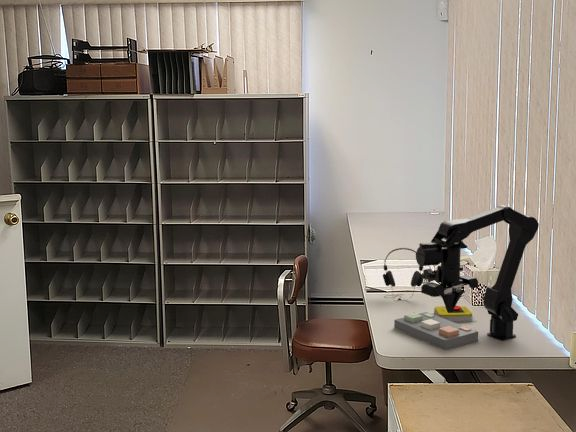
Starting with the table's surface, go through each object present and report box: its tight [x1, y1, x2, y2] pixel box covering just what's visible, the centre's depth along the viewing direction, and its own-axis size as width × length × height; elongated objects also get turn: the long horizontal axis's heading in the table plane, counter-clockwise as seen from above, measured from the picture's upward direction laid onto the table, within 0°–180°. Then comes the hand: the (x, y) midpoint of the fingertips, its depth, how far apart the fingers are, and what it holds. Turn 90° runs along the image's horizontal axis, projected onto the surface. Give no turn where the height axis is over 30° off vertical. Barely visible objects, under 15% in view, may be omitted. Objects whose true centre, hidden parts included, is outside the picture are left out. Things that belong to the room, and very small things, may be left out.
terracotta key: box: [439, 326, 459, 337], centre depth 204 cm, size 4×4×2 cm
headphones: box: [382, 247, 425, 302], centre depth 249 cm, size 15×11×20 cm
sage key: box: [403, 312, 423, 323], centre depth 218 cm, size 4×4×2 cm
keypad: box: [393, 311, 479, 351], centre depth 212 cm, size 23×14×3 cm, turn 32°
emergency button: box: [430, 305, 477, 323], centre depth 228 cm, size 9×4×15 cm
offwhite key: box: [421, 319, 440, 330], centre depth 211 cm, size 4×4×2 cm
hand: (449, 312), depth 203 cm, fingers closed
